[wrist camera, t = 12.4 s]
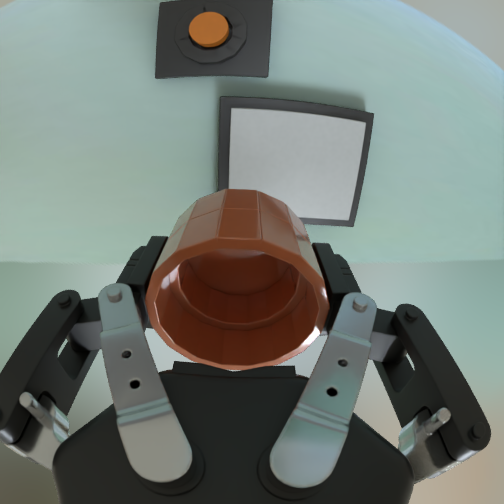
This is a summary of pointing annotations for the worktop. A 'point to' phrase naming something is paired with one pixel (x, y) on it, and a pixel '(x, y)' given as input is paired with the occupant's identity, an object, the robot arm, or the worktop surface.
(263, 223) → the copper cup
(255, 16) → the block
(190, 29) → the tare button
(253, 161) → the scale
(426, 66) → the worktop surface
